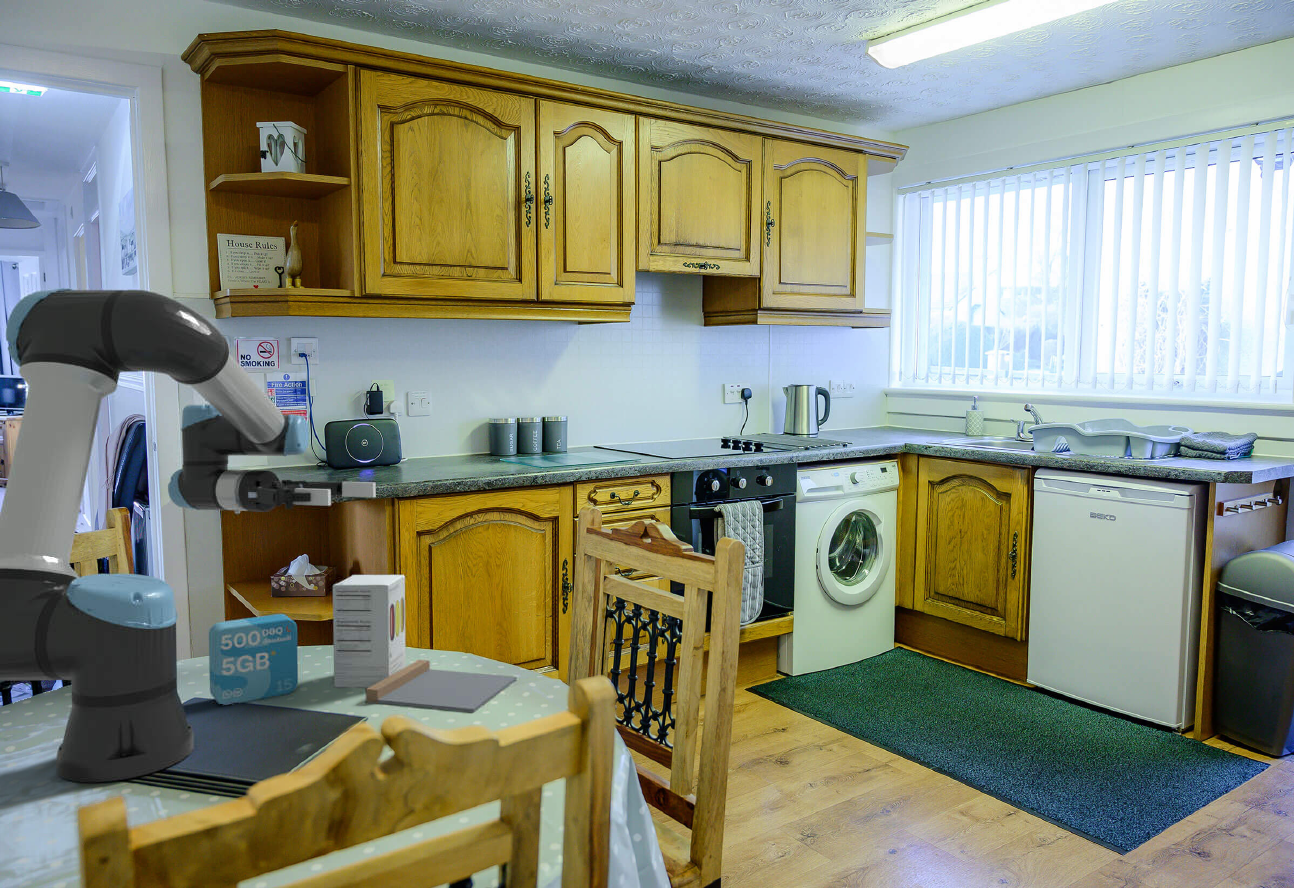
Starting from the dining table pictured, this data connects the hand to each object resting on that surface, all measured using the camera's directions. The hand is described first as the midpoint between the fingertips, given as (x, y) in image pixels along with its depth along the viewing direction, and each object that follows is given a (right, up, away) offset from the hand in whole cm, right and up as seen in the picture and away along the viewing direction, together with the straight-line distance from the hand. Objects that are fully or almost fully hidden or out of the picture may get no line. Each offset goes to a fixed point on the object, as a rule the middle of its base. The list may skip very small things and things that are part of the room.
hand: (353, 493), depth 154 cm
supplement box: (+6, -31, -8) cm, 32 cm away
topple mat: (+19, -31, -14) cm, 39 cm away
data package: (-10, -31, -17) cm, 37 cm away
